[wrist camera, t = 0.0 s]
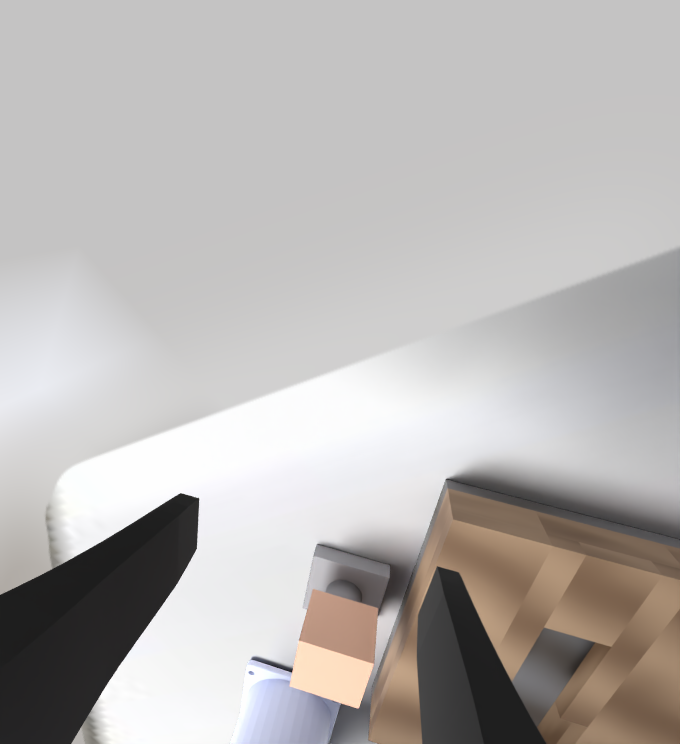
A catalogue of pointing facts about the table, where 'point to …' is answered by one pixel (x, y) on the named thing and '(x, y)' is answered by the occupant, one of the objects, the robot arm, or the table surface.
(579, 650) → the keyhole plate
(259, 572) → the table surface
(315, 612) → the peach colored cube
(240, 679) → the table surface
